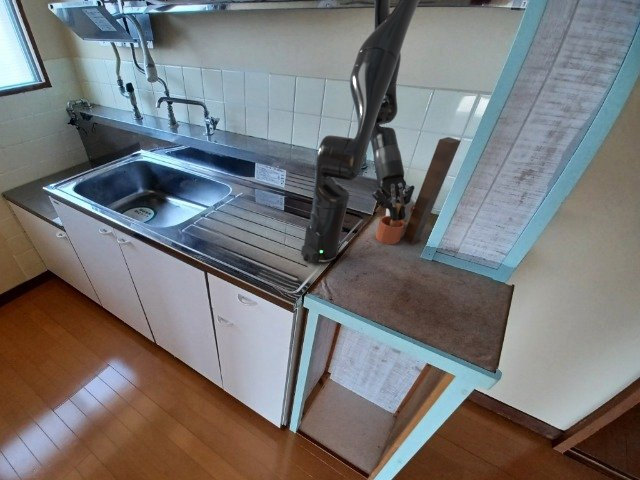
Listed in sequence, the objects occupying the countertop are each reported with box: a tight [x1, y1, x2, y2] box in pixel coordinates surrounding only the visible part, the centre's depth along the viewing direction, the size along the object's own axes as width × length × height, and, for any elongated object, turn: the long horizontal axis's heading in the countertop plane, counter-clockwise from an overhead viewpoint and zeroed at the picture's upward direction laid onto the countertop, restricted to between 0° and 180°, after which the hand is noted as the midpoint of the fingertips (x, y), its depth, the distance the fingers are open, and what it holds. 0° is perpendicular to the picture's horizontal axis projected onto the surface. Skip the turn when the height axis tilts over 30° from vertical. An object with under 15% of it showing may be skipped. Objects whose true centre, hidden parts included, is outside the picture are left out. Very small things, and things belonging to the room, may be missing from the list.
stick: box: [389, 203, 401, 227], centre depth 100 cm, size 3×3×9 cm
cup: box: [385, 192, 417, 223], centre depth 106 cm, size 8×8×10 cm
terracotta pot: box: [375, 215, 407, 245], centre depth 102 cm, size 7×7×6 cm
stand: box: [401, 136, 462, 245], centre depth 93 cm, size 4×4×30 cm
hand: (398, 219), depth 98 cm, fingers closed on stick, 1 cm apart
